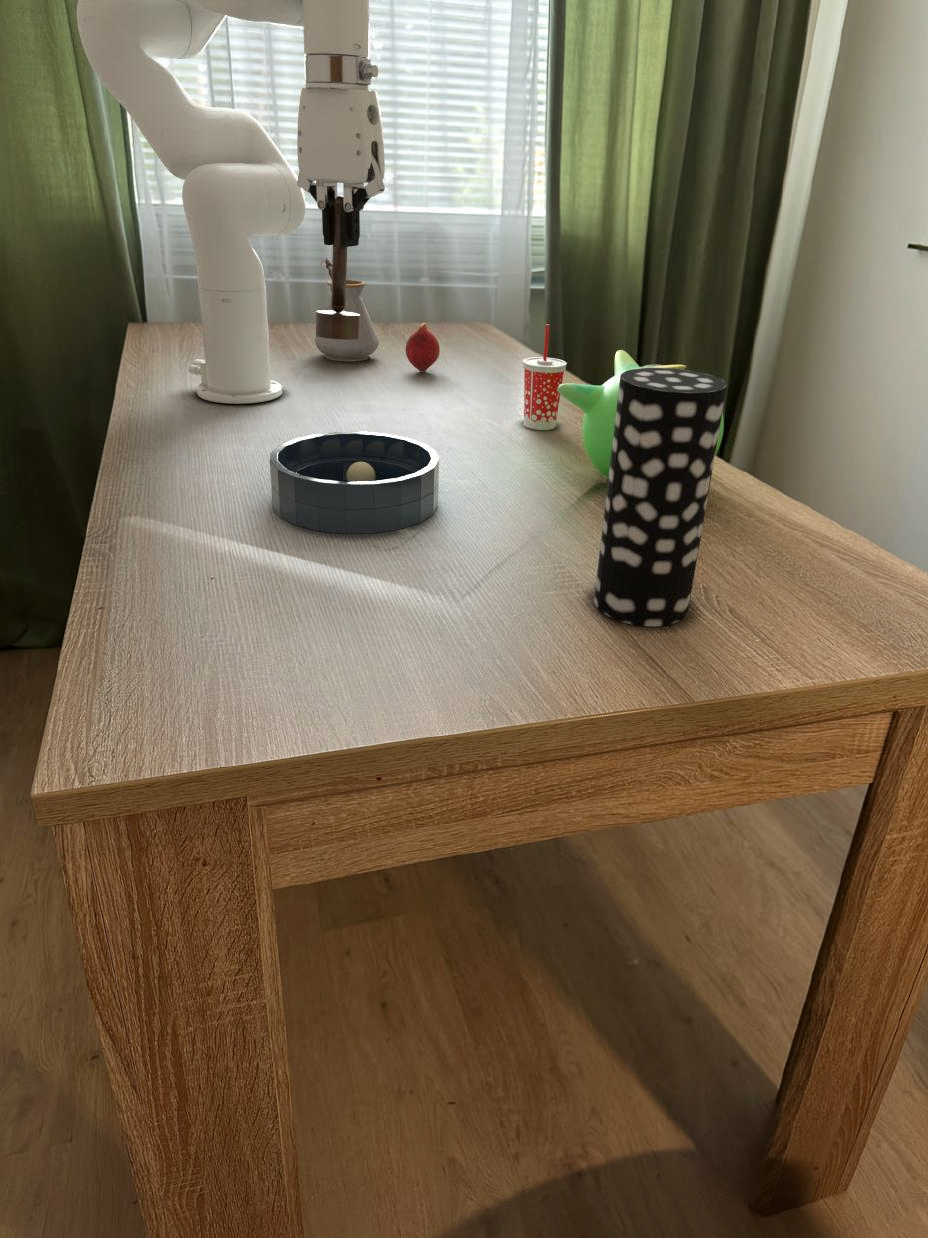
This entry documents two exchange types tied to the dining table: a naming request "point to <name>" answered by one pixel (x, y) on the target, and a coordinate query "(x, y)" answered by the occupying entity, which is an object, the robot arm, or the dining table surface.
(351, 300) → the coffee pot
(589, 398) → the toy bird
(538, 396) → the beverage cup
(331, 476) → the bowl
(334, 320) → the brown rod with base
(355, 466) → the cream ball
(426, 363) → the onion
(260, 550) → the dining table surface
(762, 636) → the dining table surface
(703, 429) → the white-spotted black cylinder
